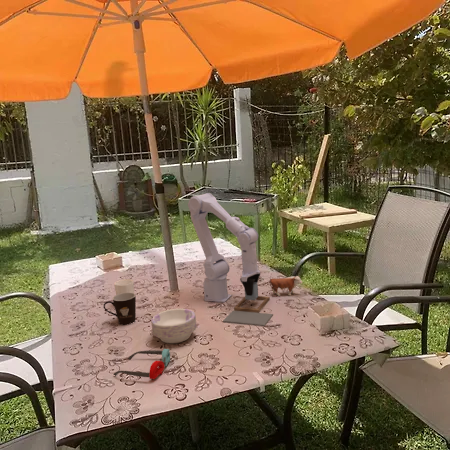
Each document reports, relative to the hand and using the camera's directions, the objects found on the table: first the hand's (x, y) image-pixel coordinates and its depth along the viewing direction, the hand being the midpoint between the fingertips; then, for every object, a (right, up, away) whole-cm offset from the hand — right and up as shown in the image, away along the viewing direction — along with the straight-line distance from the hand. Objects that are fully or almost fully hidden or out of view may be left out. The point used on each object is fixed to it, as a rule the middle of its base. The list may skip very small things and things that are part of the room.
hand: (251, 293), depth 186 cm
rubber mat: (-2, -8, -12) cm, 14 cm away
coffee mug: (-49, -10, -5) cm, 50 cm away
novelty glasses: (-35, -17, -43) cm, 58 cm away
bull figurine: (+15, -2, +10) cm, 18 cm away
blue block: (0, -2, 0) cm, 2 cm away
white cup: (-52, -7, +12) cm, 53 cm away
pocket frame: (0, -5, +1) cm, 5 cm away
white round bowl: (-28, -12, -23) cm, 38 cm away
